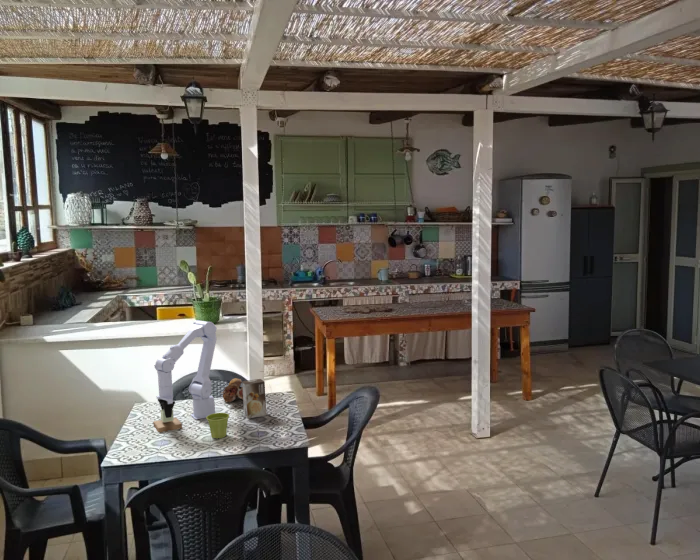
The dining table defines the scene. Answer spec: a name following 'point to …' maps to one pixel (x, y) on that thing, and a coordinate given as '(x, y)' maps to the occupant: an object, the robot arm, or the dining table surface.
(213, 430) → the plant pot
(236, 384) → the seed pod
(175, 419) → the tan block
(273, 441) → the dining table surface
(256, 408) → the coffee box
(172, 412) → the sage cube
